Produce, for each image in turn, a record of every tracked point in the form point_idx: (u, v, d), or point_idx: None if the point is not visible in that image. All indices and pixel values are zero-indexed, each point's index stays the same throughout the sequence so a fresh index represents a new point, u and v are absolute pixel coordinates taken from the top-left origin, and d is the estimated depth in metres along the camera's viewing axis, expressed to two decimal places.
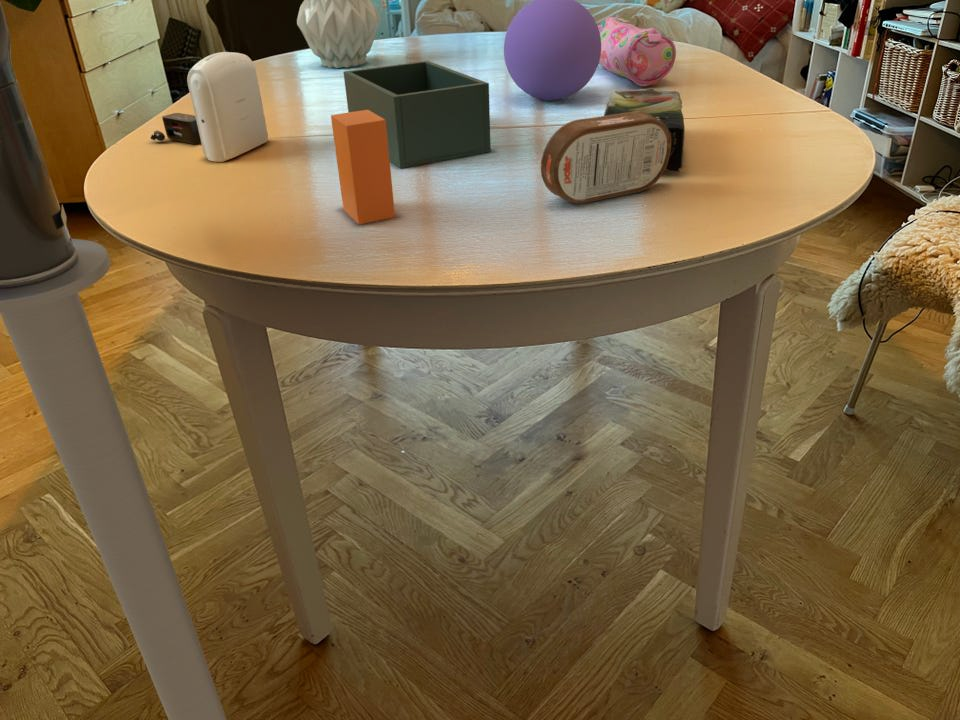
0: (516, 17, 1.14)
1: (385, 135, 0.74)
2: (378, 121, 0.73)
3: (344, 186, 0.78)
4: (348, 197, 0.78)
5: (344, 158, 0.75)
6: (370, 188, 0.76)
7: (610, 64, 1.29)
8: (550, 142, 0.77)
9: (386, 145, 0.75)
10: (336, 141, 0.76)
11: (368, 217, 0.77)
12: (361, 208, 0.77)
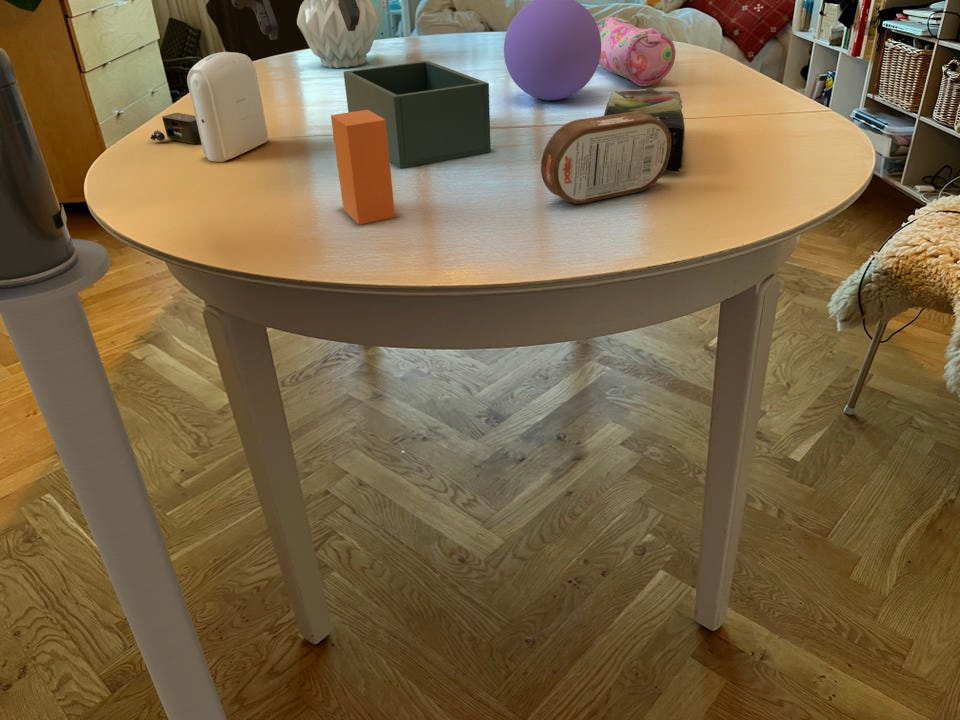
0: (516, 17, 1.14)
1: (385, 135, 0.74)
2: (378, 121, 0.73)
3: (344, 186, 0.78)
4: (348, 197, 0.78)
5: (344, 158, 0.75)
6: (370, 188, 0.76)
7: (609, 64, 1.29)
8: (550, 142, 0.77)
9: (386, 145, 0.75)
10: (336, 141, 0.76)
11: (368, 217, 0.77)
12: (361, 208, 0.77)
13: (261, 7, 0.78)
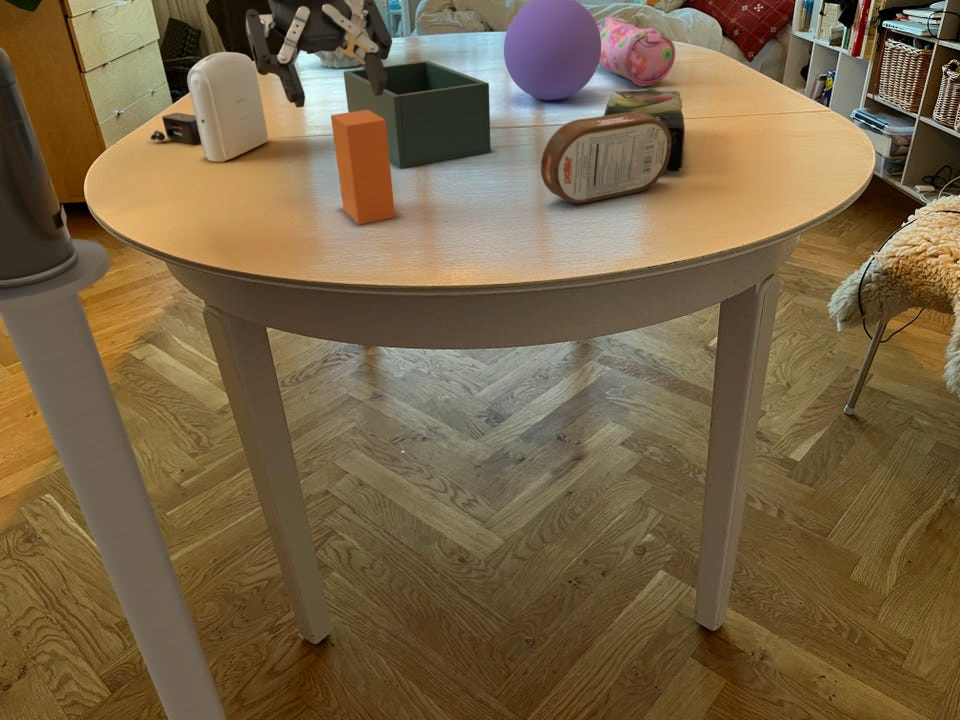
0: (516, 17, 1.14)
1: (385, 135, 0.74)
2: (378, 121, 0.73)
3: (344, 186, 0.78)
4: (348, 197, 0.78)
5: (344, 158, 0.75)
6: (370, 188, 0.76)
7: (609, 64, 1.29)
8: (550, 142, 0.77)
9: (386, 145, 0.75)
10: (336, 141, 0.76)
11: (368, 217, 0.77)
12: (361, 208, 0.77)
13: (287, 75, 0.76)
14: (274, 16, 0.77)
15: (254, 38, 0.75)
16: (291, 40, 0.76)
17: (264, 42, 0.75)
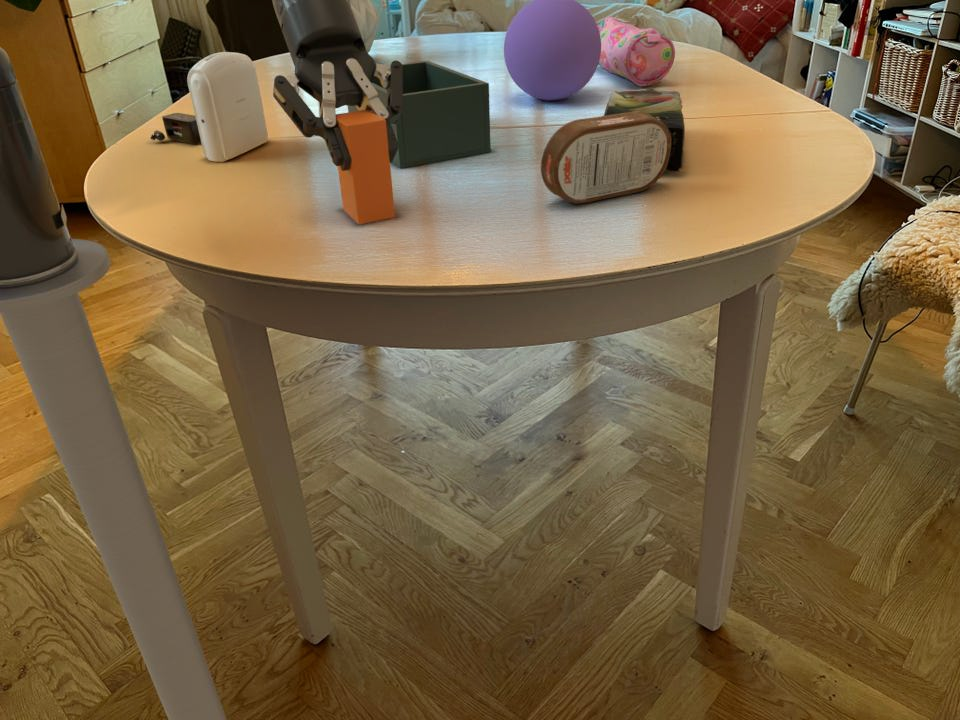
0: (516, 17, 1.14)
1: (385, 135, 0.74)
2: (378, 121, 0.73)
3: (344, 186, 0.78)
4: (348, 197, 0.78)
5: None
6: (370, 188, 0.76)
7: (609, 64, 1.29)
8: (550, 142, 0.77)
9: (386, 145, 0.75)
10: None
11: (368, 217, 0.77)
12: (361, 208, 0.77)
13: (333, 138, 0.74)
14: (297, 71, 0.75)
15: (294, 105, 0.73)
16: (329, 101, 0.74)
17: (304, 105, 0.74)
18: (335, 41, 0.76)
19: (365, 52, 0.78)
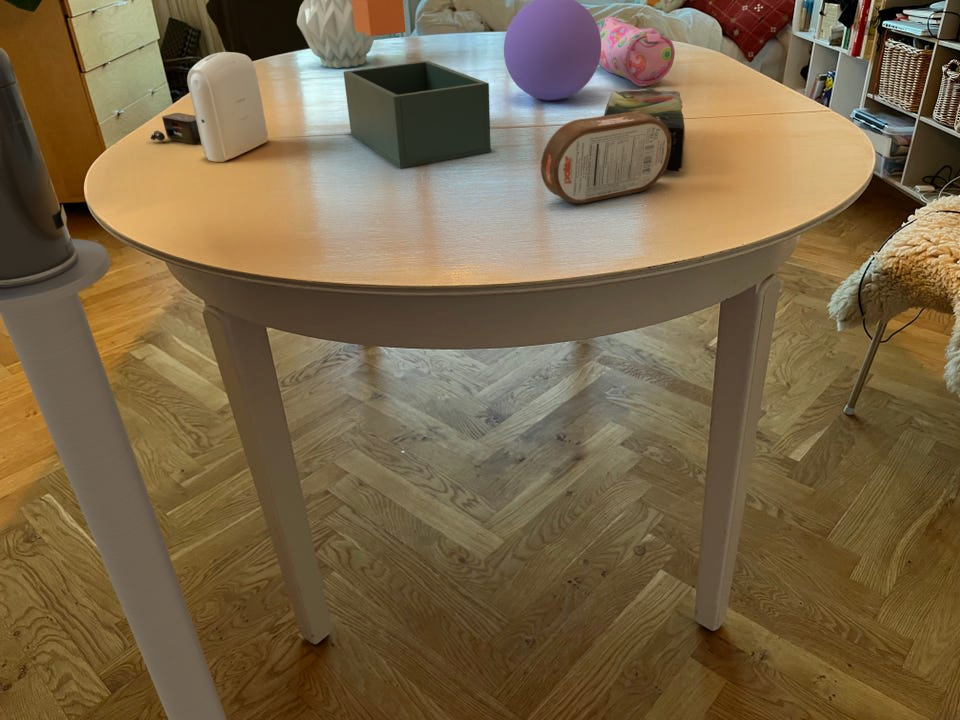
0: (516, 17, 1.14)
1: None
2: None
3: (356, 1, 0.80)
4: (359, 12, 0.80)
5: None
6: None
7: (608, 64, 1.29)
8: (550, 142, 0.77)
9: None
10: None
11: (380, 29, 0.79)
12: (372, 18, 0.79)
13: None
14: None
15: None
16: None
17: None
18: None
19: None
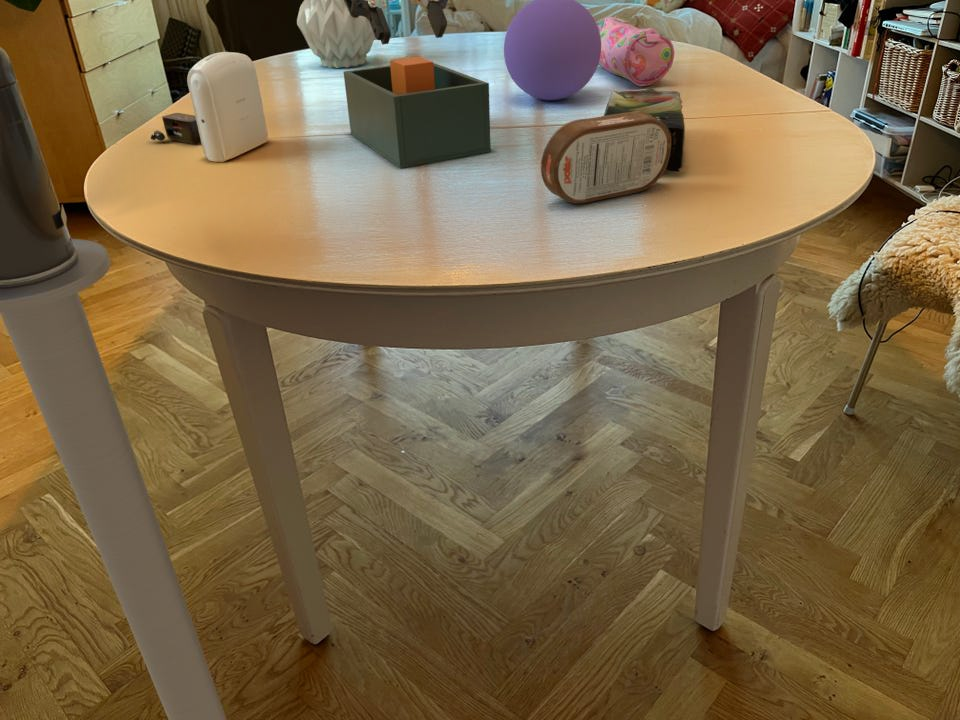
0: (516, 17, 1.14)
1: (432, 74, 0.96)
2: (427, 62, 0.96)
3: None
4: None
5: (400, 93, 0.98)
6: None
7: (608, 64, 1.29)
8: (550, 142, 0.77)
9: (433, 82, 0.97)
10: (393, 80, 0.99)
11: None
12: None
13: (376, 16, 0.92)
14: None
15: None
16: None
17: None
18: None
19: None
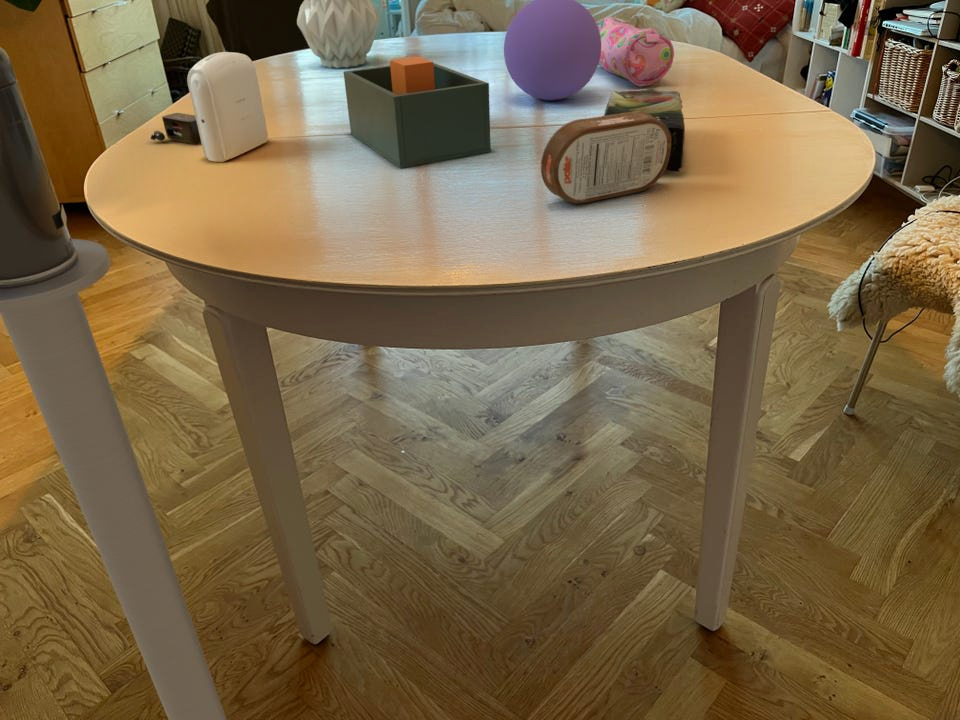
0: (516, 17, 1.14)
1: (432, 74, 0.96)
2: (427, 62, 0.96)
3: None
4: None
5: (400, 93, 0.98)
6: None
7: (608, 64, 1.29)
8: (550, 142, 0.77)
9: (433, 82, 0.97)
10: (393, 80, 0.99)
11: None
12: None
13: None
14: None
15: None
16: None
17: None
18: None
19: None
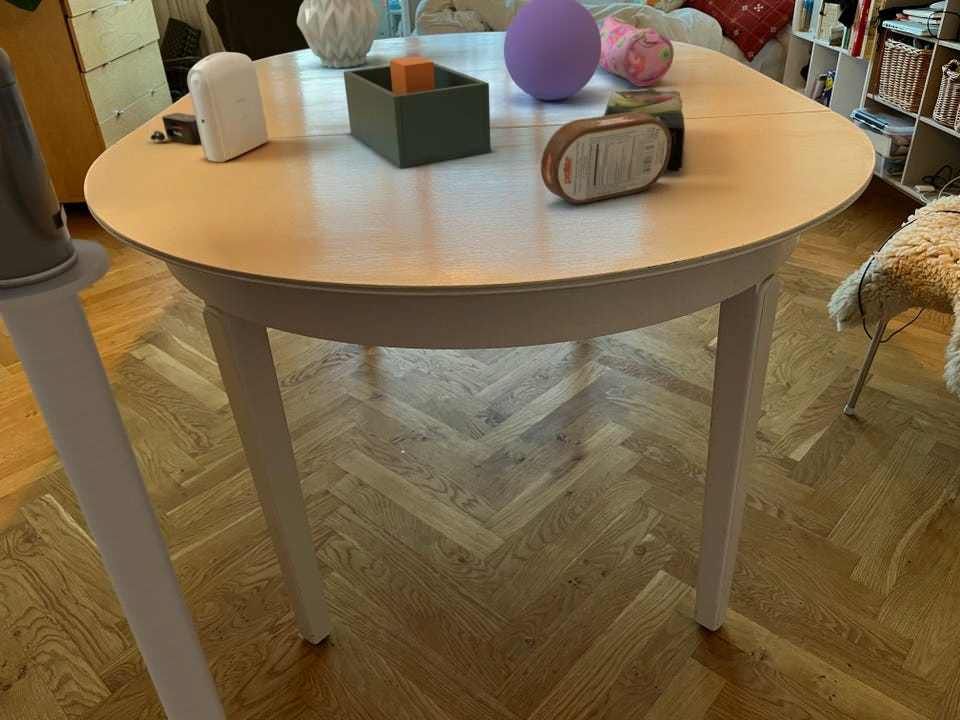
0: (516, 17, 1.14)
1: (432, 74, 0.96)
2: (427, 62, 0.96)
3: None
4: None
5: (400, 93, 0.98)
6: None
7: (607, 64, 1.29)
8: (550, 142, 0.77)
9: (433, 82, 0.97)
10: (393, 80, 0.99)
11: None
12: None
13: None
14: None
15: None
16: None
17: None
18: None
19: None
